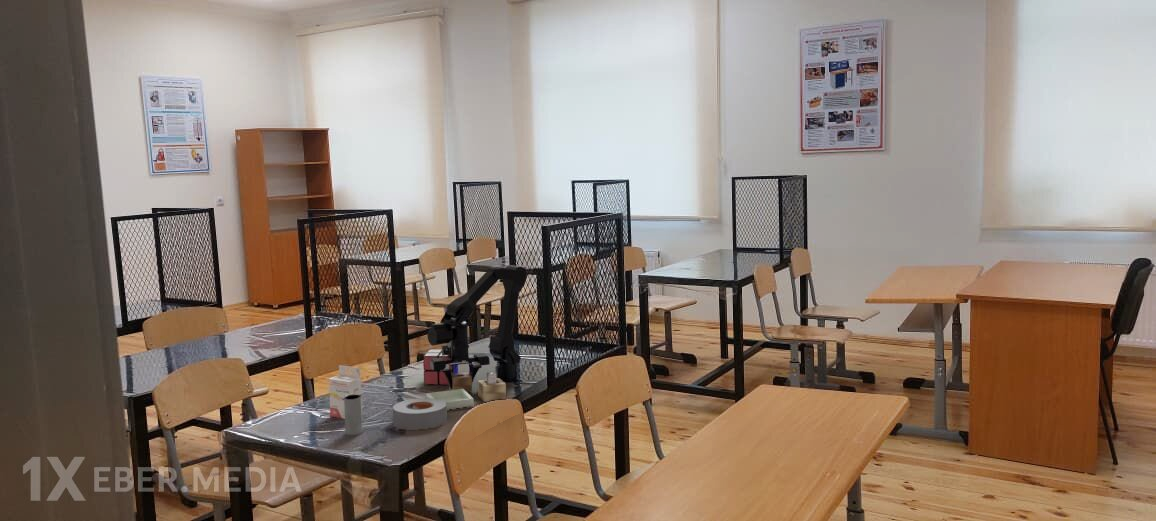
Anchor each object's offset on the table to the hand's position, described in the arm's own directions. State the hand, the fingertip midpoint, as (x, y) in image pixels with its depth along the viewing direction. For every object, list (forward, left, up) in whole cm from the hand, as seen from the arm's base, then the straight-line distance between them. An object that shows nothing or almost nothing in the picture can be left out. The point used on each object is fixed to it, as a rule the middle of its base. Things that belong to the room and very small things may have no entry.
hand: (460, 387), depth 265 cm
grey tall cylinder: (+38, +28, -1) cm, 47 cm away
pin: (-7, +12, -1) cm, 14 cm away
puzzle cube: (+3, -14, -1) cm, 14 cm away
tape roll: (+19, +26, -2) cm, 32 cm away
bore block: (-7, +12, -1) cm, 14 cm away
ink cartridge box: (+38, +12, -1) cm, 40 cm away
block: (0, 0, -1) cm, 1 cm away
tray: (+7, +13, -1) cm, 15 cm away
